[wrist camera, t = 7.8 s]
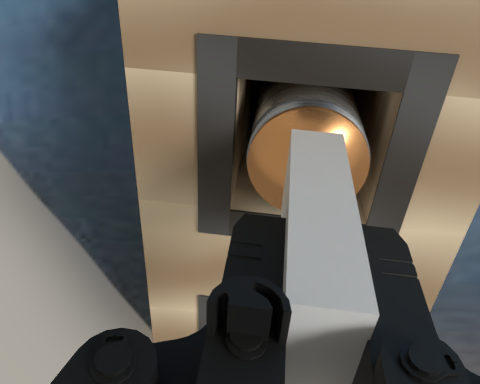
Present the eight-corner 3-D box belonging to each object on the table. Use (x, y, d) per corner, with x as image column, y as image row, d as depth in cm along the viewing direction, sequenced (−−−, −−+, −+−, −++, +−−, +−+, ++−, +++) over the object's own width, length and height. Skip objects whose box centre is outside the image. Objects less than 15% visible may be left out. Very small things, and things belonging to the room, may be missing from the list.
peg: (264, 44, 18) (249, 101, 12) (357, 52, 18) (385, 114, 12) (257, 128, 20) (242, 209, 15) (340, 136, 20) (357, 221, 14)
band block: (175, -57, 17) (111, -43, 11) (477, -37, 16) (580, -11, 10) (187, 305, 29) (159, 403, 23) (358, 327, 28) (374, 434, 23)
